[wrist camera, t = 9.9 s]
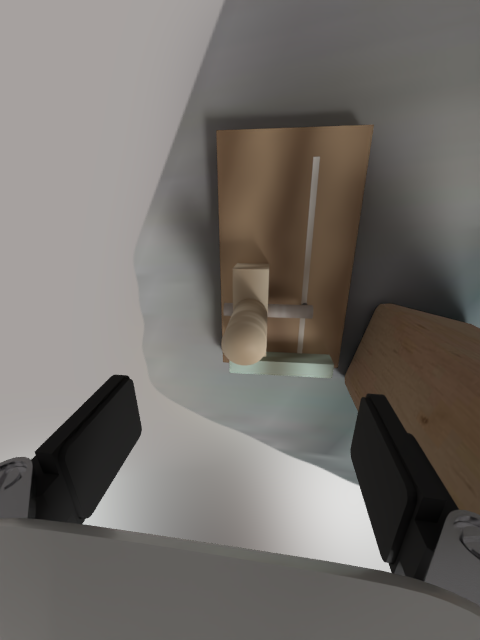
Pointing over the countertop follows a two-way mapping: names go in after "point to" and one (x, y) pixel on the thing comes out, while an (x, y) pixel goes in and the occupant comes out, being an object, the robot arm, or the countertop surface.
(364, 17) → the countertop surface
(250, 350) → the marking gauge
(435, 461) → the wooden block
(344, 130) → the walnut board
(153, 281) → the countertop surface
